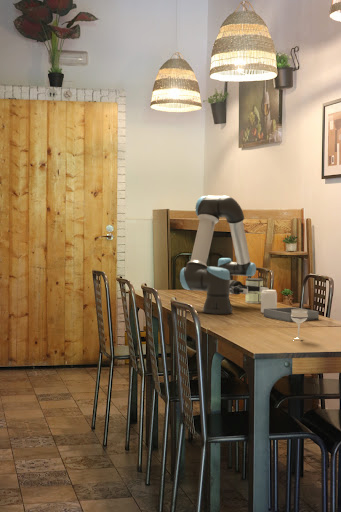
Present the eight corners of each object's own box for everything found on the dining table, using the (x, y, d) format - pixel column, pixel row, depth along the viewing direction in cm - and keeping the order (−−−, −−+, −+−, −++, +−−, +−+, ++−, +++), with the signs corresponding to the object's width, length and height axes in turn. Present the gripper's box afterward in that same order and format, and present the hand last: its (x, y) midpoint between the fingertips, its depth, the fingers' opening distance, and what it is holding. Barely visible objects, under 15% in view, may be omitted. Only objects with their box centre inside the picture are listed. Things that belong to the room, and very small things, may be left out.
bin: (288, 321, 341) (288, 313, 341) (263, 316, 357) (263, 308, 357) (318, 319, 351) (318, 311, 350) (292, 314, 367) (293, 307, 367)
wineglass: (304, 338, 291) (305, 309, 290) (308, 341, 284) (309, 311, 284) (288, 338, 291) (289, 309, 290) (291, 341, 284) (292, 311, 283)
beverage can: (276, 314, 367) (276, 291, 367) (260, 313, 369) (260, 290, 368) (276, 312, 375) (277, 289, 375) (261, 311, 377) (262, 289, 376)
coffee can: (245, 301, 428) (245, 277, 427) (262, 301, 427) (263, 278, 426) (245, 303, 418) (245, 279, 417) (262, 303, 417) (263, 279, 416)
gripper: (251, 292, 406) (275, 297, 388) (215, 295, 393) (238, 299, 375) (252, 279, 406) (276, 283, 387) (215, 281, 393) (238, 285, 375)
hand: (257, 291), depth 381 cm, fingers open, 13 cm apart
